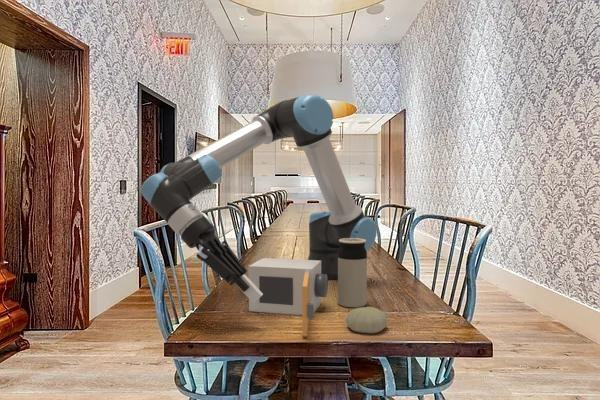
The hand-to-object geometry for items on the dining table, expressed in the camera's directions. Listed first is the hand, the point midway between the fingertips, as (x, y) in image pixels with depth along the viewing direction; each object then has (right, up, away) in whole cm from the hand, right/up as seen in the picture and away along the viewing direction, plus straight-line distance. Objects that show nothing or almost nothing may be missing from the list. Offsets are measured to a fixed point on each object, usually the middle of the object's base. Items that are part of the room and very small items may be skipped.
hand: (258, 298), depth 102 cm
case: (+7, -6, +16) cm, 18 cm away
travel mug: (+24, -6, +19) cm, 32 cm away
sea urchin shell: (+25, -7, 0) cm, 26 cm away
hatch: (+12, -6, 0) cm, 13 cm away
